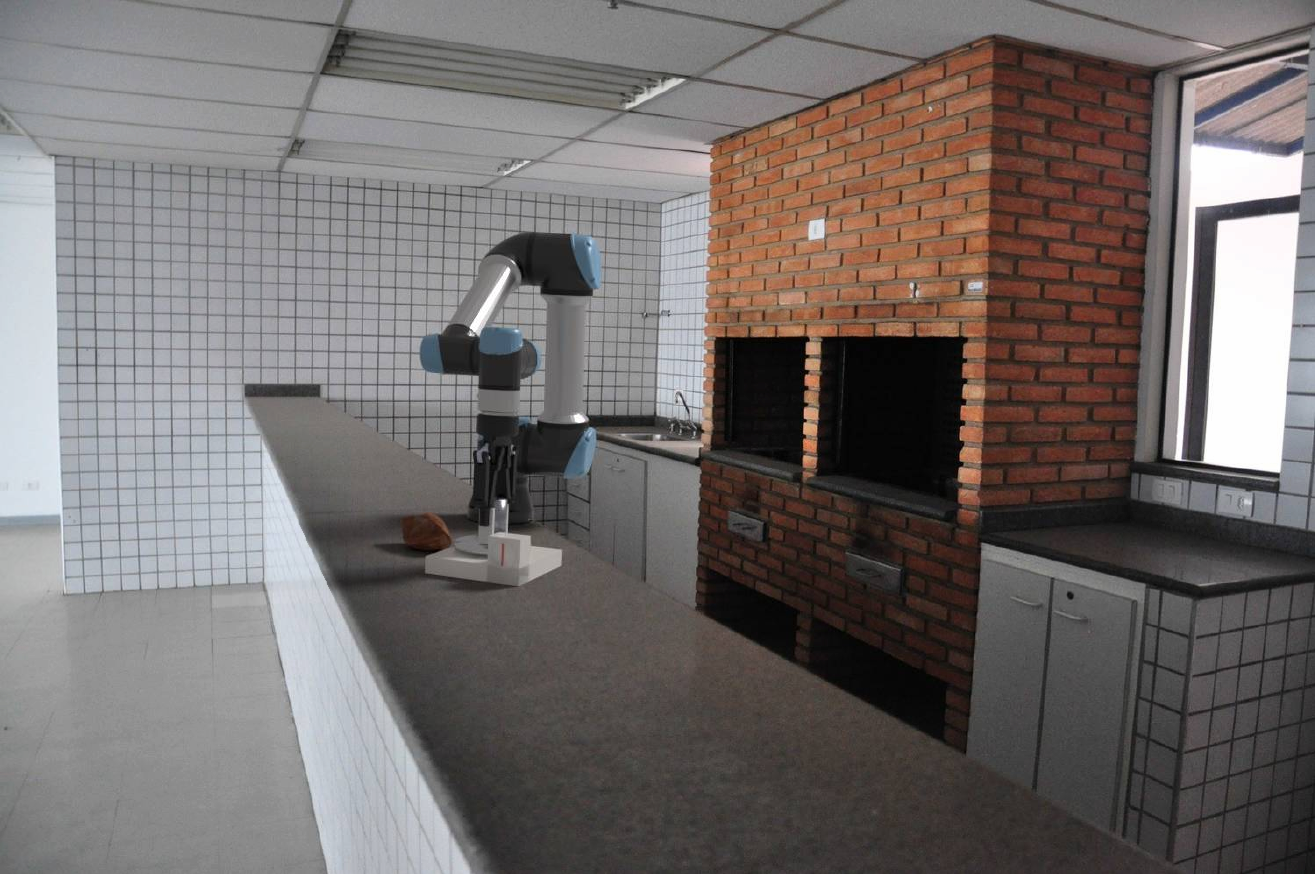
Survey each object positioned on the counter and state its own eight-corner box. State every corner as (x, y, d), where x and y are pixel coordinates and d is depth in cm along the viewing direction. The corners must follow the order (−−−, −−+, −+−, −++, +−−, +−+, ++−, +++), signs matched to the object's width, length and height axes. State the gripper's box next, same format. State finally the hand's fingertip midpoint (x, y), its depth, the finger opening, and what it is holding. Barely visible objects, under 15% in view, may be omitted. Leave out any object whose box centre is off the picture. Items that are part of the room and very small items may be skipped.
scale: (474, 554, 192) (476, 512, 191) (561, 565, 187) (563, 523, 186) (423, 573, 175) (425, 528, 174) (517, 587, 169) (519, 540, 168)
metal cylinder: (487, 538, 185) (489, 495, 185) (509, 541, 184) (511, 498, 183) (475, 543, 181) (477, 499, 180) (498, 546, 180) (500, 501, 179)
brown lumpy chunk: (462, 538, 190) (435, 492, 190) (422, 560, 186) (395, 514, 186) (450, 548, 201) (425, 505, 201) (413, 569, 197) (388, 526, 198)
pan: (476, 539, 191) (476, 531, 191) (543, 548, 187) (544, 540, 187) (438, 552, 178) (438, 544, 178) (509, 562, 174) (510, 554, 174)
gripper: (501, 409, 190) (496, 530, 192) (454, 414, 173) (449, 547, 175) (538, 412, 187) (532, 535, 190) (493, 417, 171) (488, 552, 173)
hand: (492, 540), depth 182 cm, fingers closed on pan, 5 cm apart
